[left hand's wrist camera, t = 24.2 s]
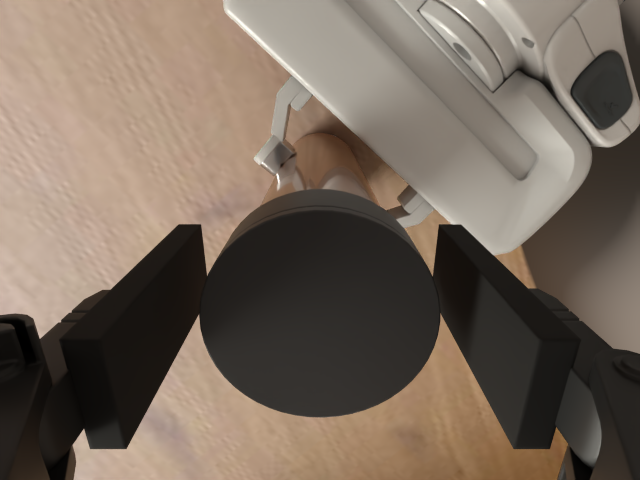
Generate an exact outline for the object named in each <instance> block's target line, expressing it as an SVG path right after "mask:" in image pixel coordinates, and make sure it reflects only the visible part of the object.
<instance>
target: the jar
mask: <svg viewBox="0 0 640 480" xmlns="http://www.w3.org/2000/svg"><path fill="white" fill-rule="evenodd" d="M293 147H294V148H295V151H294V153H293V155H292V156H291V157H290V158H289V159H288V160H287V161H286V162H285V163H283V164H282V166H281V168H280V169H279V171H278V172H277V174H276V176H275V178H274V180H273V182H272V184H271V186H270V188H269V190H268V192H267V194H266V196H265V198H264V199H263V201H262V203H261V205H263V204H265V203H267V202H269V201H270V200H272V199H274V198H277V197H280V196H282V195H285V194H288V193H292V192H296V191H301V190H310V189H332V190H338V191H344V192H348V193H351V194H355V195H358V196H361V197H363V198H365V199H367V200H370V201H372V202H373V203H375V204H377V205H378V206H380V205H379V203H378V201H377V199H376V197H375V195H374V193H373V191H372V189H371V187H370V185H369V183H368V181H367V179H366V178H365V176H364V174H363V172H362V170H361V168H360V166H359V164H358V162H357V160H356V158H355V156H354V154H353V152H352V150H351V149H350V147H349V146H348V145H347V144H346V143H345V142H344V141H343V140H341V139H340V138H338V137H336V136H334V135H331V134H326V133H314V134H310V135H307V136H305V137H303V138H301V139H299V140H298V141H297V142H296V143H294V144H293ZM261 205H260V206H261Z"/></svg>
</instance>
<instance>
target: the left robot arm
mask: <svg viewBox="0 0 640 480" xmlns="http://www.w3.org/2000/svg"><path fill="white" fill-rule="evenodd" d="M206 279H207V272H206V263H205V255H204V246H203V237H202V229H201V224H179V225H178V226H177V227H176V228H175V229H174V230H172V231H171V232H170V233H169V234H168V235H167V236H166V237H165V238H164V239H163V240H162V241H161V242H160V243H159V244H158V245H157V246H156V247H155V248H154V249H153V250H152V251H151V252H150V253H149V254H147V255H146V256H145V257H144V258H143V259H142V260H141V261H140V262H139V263H138V264H137V265H136V266H135V267H134V268H133V269H132V270H131V271H130V272H129V273H128V274H127V275H126V276H125V277H124V278H122V279H121V280H120V281H119V282H118V283H117V284H116V285H115V286H114V287H113V288H112V289H111V290H102V291H100V292H98V293H96V294H94V295H92V296H90V297H88V298H86V299H84V300H83V301H82V302H81V303H80V304H79V305H78V306H77V307H75V308H74V309H73V310H72V313H69V314H68V315H66V316H65V317H64V318H63V319H62V320H61V323H58V324H56V325H55V326H54V327H53V328H52V329H51V330H50V331H49V332H47V333H46V334H45V335H44V336H43V337H42V338H41V339H39V336H38V332H37V329H36V326H35V323H34V319H33V318H31V317H30V316H28V315H23V314H7V315H0V480H73V479H74V473H75V466H76V458H75V453H74V449H73V446H72V445H73V443H74V442H75V441H76V439H77V438H78V436H79V435H80V433H81V432H82V430H83V429H85V433H86V436H87V440H88V443H89V447H90V449H127V447H128V445H129V443H130V441H131V439H132V437H133V436H134V434H135V432H136V430H137V428H138V426H139V424H140V423H141V421H142V419H143V417H144V415H145V413H146V411H147V410H148V408H149V406H150V404H151V402H152V400H153V398H154V397H155V395H156V393H157V391H158V389H159V387H160V385H161V384H162V382H163V380H164V378H165V376H166V374H167V372H168V371H169V369H170V367H171V365H172V363H173V361H174V359H175V358H176V356H177V354H178V352H179V350H180V348H181V346H182V345H183V343H184V341H185V339H186V337H187V335H188V333H189V332H190V330H191V328H192V326H193V324H194V322H195V320H196V318H197V317H198V315H199V312H200V299H201V295H202V290H203V286H204V284H205V281H206ZM433 279H434V281H435V284H436V288H437V291H438V295H439V302H440V313H441V315H442V317H443V318H444V320H445V322H446V324H447V326H448V328H449V330H450V332H451V333H452V335H453V337H454V339H455V341H456V343H457V345H458V346H459V348H460V350H461V352H462V354H463V356H464V358H465V359H466V361H467V363H468V365H469V367H470V369H471V371H472V372H473V374H474V376H475V378H476V380H477V382H478V384H479V385H480V387H481V389H482V391H483V393H484V395H485V397H486V398H487V400H488V402H489V404H490V406H491V408H492V410H493V411H494V413H495V415H496V417H497V419H498V421H499V423H500V424H501V426H502V428H503V430H504V432H505V434H506V436H507V437H508V439H509V441H510V443H511V445H512V447H513V449H550V447H551V443H552V440H553V436H554V433H555V429H556V427H557V428H558V430H559V431H560V433H561V434H562V435H563V437H564V438H565V440H566V441H567V443H568V446H567V449H566V453H565V456H564V459H563V462H562V466H561V469H560V472H559V475H558V478H557V480H640V354H638V353H635V352H631V351H627V350H619V349H613V348H612V347H611V346H609V345H608V344H607V343H606V342H605V341H604V340H603V339H602V338H600V337H599V336H598V335H597V334H596V333H595V332H594V331H593V330H591V329H590V328H589V327H588V326H587V325H586V324H585V323H584V322H582V321H579V318H578V317H577V316H576V315H574V314H573V313H572V312H569V309H568V308H567V307H565V306H564V305H563V304H562V303H561V302H560V301H559V300H558V299H556V298H555V297H553V296H551V295H549V294H547V293H545V292H543V291H541V290H539V289H528V288H527V287H526V286H525V285H524V284H523V283H522V282H521V281H520V280H519V279H518V278H516V277H515V276H514V275H513V274H512V273H511V272H510V271H509V270H508V269H507V268H506V267H505V266H504V265H503V264H502V263H501V262H500V261H499V260H498V259H497V258H496V257H495V256H494V255H493V254H491V253H490V252H489V251H488V250H487V249H486V248H485V247H484V246H483V245H482V244H481V243H480V242H479V241H478V240H477V239H476V238H475V237H474V236H473V235H472V234H471V233H470V232H469V231H468V230H466V229H465V228H464V227H463V226H462V225H461V224H439V229H438V237H437V246H436V255H435V263H434V272H433Z"/></svg>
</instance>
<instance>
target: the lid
mask: <svg viewBox="0 0 640 480" xmlns="http://www.w3.org/2000/svg"><path fill="white" fill-rule="evenodd" d="M199 317H200V327H201V332H202V336H203V340H204V343H205V346H206V348H207V351H208V353H209V355H210V357H211V359H212V360H213V362H214V364H215V365H216V367H217V368H218V369H219V371H220V372H221V373H222V375H223V376H224V377H225V378H226V379H227V380H228V381H229V382H230V383H231V384H232V385H233V386H234V387H235V388H237V389H238V390H239V391H240V392H242V393H243V394H244V395H246V396H248V397H249V398H251V399H252V400H254V401H256V402H258V403H260V404H262V405H264V406H266V407H268V408H271V409H274V410H277V411H280V412H283V413H288V414H292V415H297V416H305V417H335V416H342V415H348V414H353V413H356V412H360V411H363V410H366V409H369V408H371V407H374V406H376V405H378V404H380V403H382V402H384V401H386V400H388V399H389V398H391V397H392V396H394V395H395V394H397V393H398V392H400V391H401V390H402V389H403V388H405V387H406V386H407V385H408V384H409V383H410V382H411V381H412V380H413V379H414V378H415V377H416V376H417V374H418V373H419V372H420V371H421V370H422V368H423V367H424V365H425V364H426V362H427V361H428V359H429V357H430V355H431V353H432V350H433V348H434V346H435V342H436V339H437V336H438V332H439V325H440V302H439V295H438V291H437V288H436V284H435V281H434V279H433V277H432V275H431V273H430V270H429V268H428V266H427V265H426V263H425V262H424V260H423V258H422V257H421V255H420V253H419V252H418V250H417V248H416V247H415V245H414V243H413V242H412V240H411V238H410V237H409V235H408V234H407V232H406V231H405V229H404V228H403V227H402V226H401V224H400V223H399V222H398V221H397V220H396V219H395V218H394V217H393V216H392V215H391V214H389V213H388V212H387V211H386V210H384V209H383V208H382V207H380V206H378V205H377V204H375V203H373V202H372V201H370V200H367V199H365V198H363V197H361V196H358V195H355V194H351V193H348V192H344V191H338V190H332V189H310V190H301V191H296V192H292V193H288V194H285V195H282V196H280V197H277V198H274V199H272V200H270V201H269V202H267V203H265V204H263V205H261V206H260V207H258V208H257V209H256V210H254V211H253V212H252V213H250V214H249V215H248V216H247V217H246V218H245V219H244V220H243V221H242V222H241V223H240V224H239V226H238V227H237V228H236V229H235V231H234V232H233V233H232V235H231V237H230V238H229V240H228V242H227V243H226V245H225V247H224V248H223V250H222V251H221V253H220V255H219V256H218V258H217V260H216V261H215V263H214V265H213V267H212V268H211V270H210V272H209V274H208V276H207V279H206V281H205V284H204V286H203V290H202V295H201V299H200V312H199Z"/></svg>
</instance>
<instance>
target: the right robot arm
mask: <svg viewBox="0 0 640 480" xmlns="http://www.w3.org/2000/svg"><path fill="white" fill-rule="evenodd" d="M624 1H625V0H223V6H224V11H225V13H226V14H227V15H228V16H229V17H230V18H231V19H232V20H233V21H234V22H236V23H237V24H238V25H239V26H240V27H241V28H242V29H243V30H244V31H245V32H246V33H247V34H248V35H249V36H250V37H252V38H253V39H254V40H255V41H256V42H257V43H258V44H259V45H260V46H261V47H262V48H263V49H264V50H265V51H267V52H268V53H269V54H270V55H271V56H272V57H273V58H274V59H275V60H276V61H277V62H278V63H279V64H280V65H282V66H283V67H284V68H285V69H286V70H287V71H288V72H289V73H290V74H291V76H290V78H289V79H288V80H287V82H286V83H285V84H284V85H283V87H282V88H281V89H280V90H279V92H278V93H277V96H276V103H275V109H274V116H273V123H272V129H271V133H272V134H273V135H272V136H271V137H270V139H269V140H268V141H267V142H266V143H265V145H264V146H263V147H262V148H261V150H260V151H259V152H258V153H257V155H256V156H255V157H254V160H255V161H256V162H257V163H258V164H259V165H261V166H262V167H263V168H264V169H266V170H267V171H268V172H269V173H270V174H272V175H273V176H275V175H276V174H277V172H278V171H279V169H280V168H281V166H282V164H283V163H285V162H286V161H287V160H288V159H289V158H290V157H291V156H292V155H293V153H294V151H295V148H294V147H293V146H292V145H291V144H290V143H289V142H288V141H287V140H286V139H285V137H286V132H287V126H288V120H289V115H290V109H291V107H292V108H293V109H295V110H296V111H300V110H301V109H302V107H303V106H304V105H305V104H306V103H307V101H308V100H309V99H310V98H311V97H312V95H314V96H315V97H316V98H317V99H318V100H319V101H320V102H321V103H322V104H323V105H324V106H325V107H326V108H328V109H329V110H330V111H331V112H332V113H333V114H334V115H335V116H336V117H337V118H338V119H339V120H340V121H341V122H343V123H344V124H345V125H346V126H347V127H348V128H349V129H350V130H351V131H352V132H353V133H354V134H355V135H356V136H358V137H359V138H360V139H361V140H362V141H363V142H364V143H365V144H366V145H367V146H368V147H369V148H370V149H371V150H373V151H374V152H375V153H376V154H377V155H378V156H379V157H380V158H381V159H382V160H383V161H384V162H385V163H386V164H388V165H389V166H390V167H391V168H392V169H393V170H394V171H395V172H396V173H397V174H398V175H399V176H400V177H401V178H403V179H404V180H405V181H406V182H407V183H408V184H409V185H408V186H407V188H406V189H405V190H404V191H403V192H402V193H401V194H400V195H399V196H398V198H397V199H398V201H399V202H400V204H401V206H398V207H395V208H392V209H389V210H386V211H387V212H388V213H389V214H391V215H392V216H393V217H394V218H395V219H396V220H397V221H398V222H399V223H400V224H401V226H402V227H403V228H407V227H410V226H414V225H417V224H420V223H421V222H422V221H423V220H424V219H425V218H426V217H427V216H428V215H429V214H430V213H431V212H432V211H433V210H434V209H436V210H437V211H438V212H439V213H440V214H441V215H442V216H443V217H444V218H445V219H446V220H447V221H449V222H450V223H451V224H461V225H462V226H463V227H464V228H465V229H466V230H468V231H469V232H470V233H471V234H472V235H473V236H474V237H475V238H476V239H477V240H478V241H479V242H480V243H481V244H482V245H483V246H484V247H485V248H486V249H487V250H488V251H489V252H490V253H491V254H493V255H499V254H504V253H509V252H511V251H513V250H514V249H516V248H517V247H519V246H520V245H521V244H522V243H524V242H525V241H526V240H527V239H528V238H529V237H531V236H532V235H533V234H534V233H535V232H536V231H537V230H538V229H539V228H540V227H542V226H543V225H544V224H545V223H546V222H547V221H548V220H549V219H550V218H551V217H552V216H553V215H554V214H555V213H556V212H557V211H558V210H559V209H560V208H561V207H562V206H563V205H564V204H565V203H566V202H567V201H568V200H569V199H570V198H571V196H572V195H573V194H574V193H575V192H576V191H577V190H578V188H579V187H580V186H581V184H582V183H583V181H584V180H585V178H586V176H587V174H588V172H589V170H590V167H591V162H592V151H591V147H590V146H599V147H612V146H615V145H617V144H619V143H620V142H622V141H623V140H624V139H626V138H627V137H628V136H629V135H630V134H631V133H632V132H634V130H635V129H636V128H637V127H638V125H639V124H640V100H639V97H638V94H637V90H636V87H635V83H634V80H633V76H632V72H631V69H630V64H629V61H628V56H627V52H626V47H625V42H624V37H623V31H622V24H621V16H620V9H619V6H620V5H621V4H622V3H623V2H624Z"/></svg>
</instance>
